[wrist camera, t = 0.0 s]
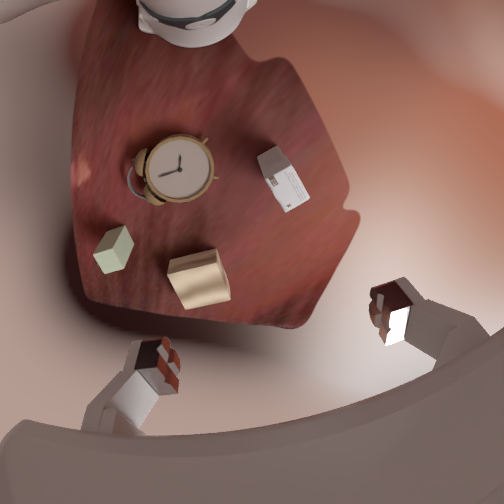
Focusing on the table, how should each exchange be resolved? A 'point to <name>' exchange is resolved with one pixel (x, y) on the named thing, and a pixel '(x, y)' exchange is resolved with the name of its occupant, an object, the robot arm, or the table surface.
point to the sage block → (114, 250)
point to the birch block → (199, 279)
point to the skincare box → (282, 179)
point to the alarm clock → (175, 170)
